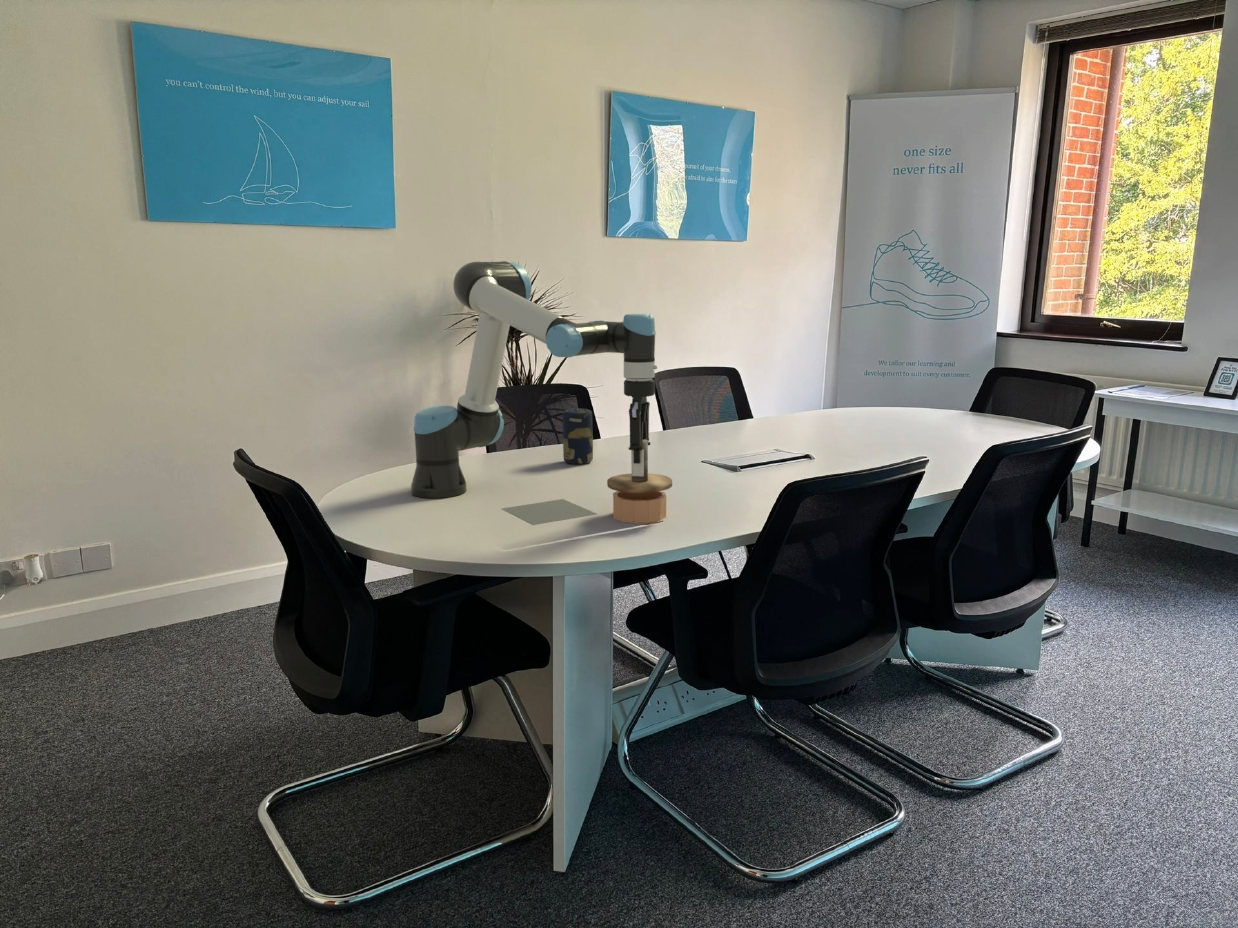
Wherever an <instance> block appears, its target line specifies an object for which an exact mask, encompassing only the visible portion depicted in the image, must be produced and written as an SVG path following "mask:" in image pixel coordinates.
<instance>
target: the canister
mask: <svg viewBox="0 0 1238 928" xmlns="http://www.w3.org/2000/svg"><path fill="white" fill-rule="evenodd" d="M593 433H594V432H593V412H592V410H590V409H588V408H578V406H576V407H575V408H567V409H565V410H563V411H562V446H563V447H562V448H563V449H562V450H563V454H562V457H563V461H564V462H566V463H568V464H573V465H574V464H577V465H578V464H579V465H581V464H587V463H591V462H592V461H593V460H594V434H593Z"/></svg>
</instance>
